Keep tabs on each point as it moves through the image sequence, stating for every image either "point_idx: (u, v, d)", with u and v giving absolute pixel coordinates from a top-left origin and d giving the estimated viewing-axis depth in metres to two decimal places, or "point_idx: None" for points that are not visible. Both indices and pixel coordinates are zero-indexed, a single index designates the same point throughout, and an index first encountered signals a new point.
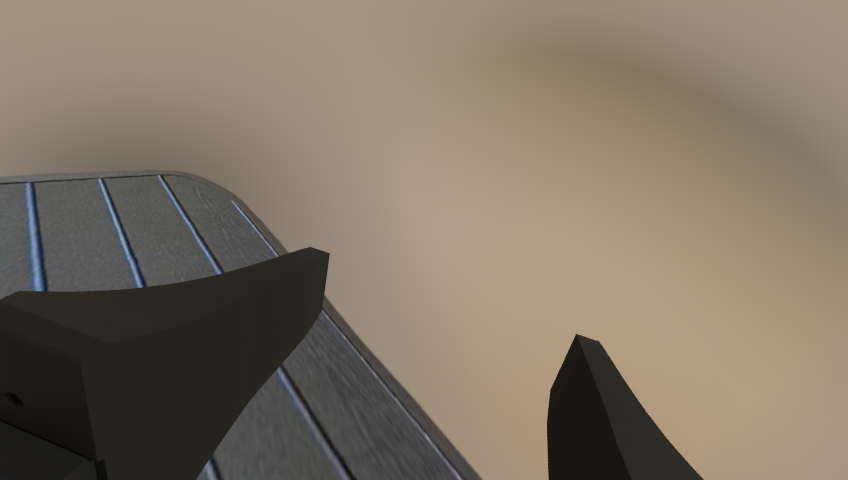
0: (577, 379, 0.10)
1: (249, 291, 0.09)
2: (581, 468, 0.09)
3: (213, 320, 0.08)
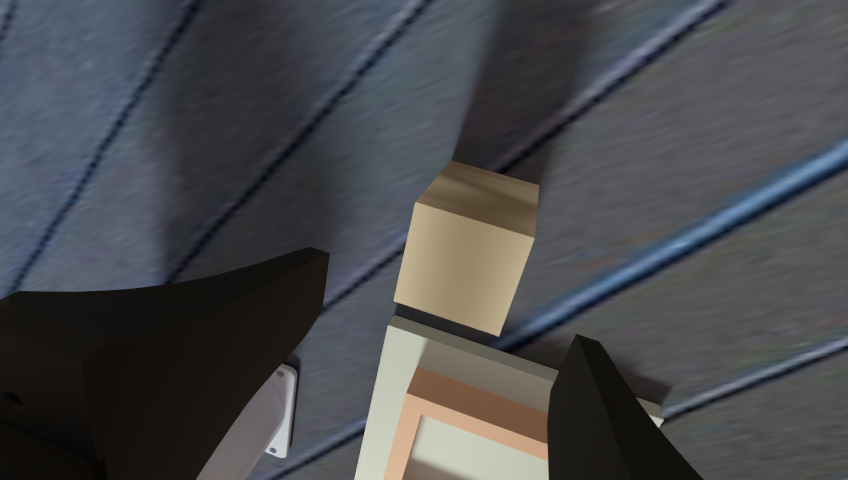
0: (577, 379, 0.10)
1: (249, 291, 0.09)
2: (581, 468, 0.09)
3: (213, 320, 0.08)
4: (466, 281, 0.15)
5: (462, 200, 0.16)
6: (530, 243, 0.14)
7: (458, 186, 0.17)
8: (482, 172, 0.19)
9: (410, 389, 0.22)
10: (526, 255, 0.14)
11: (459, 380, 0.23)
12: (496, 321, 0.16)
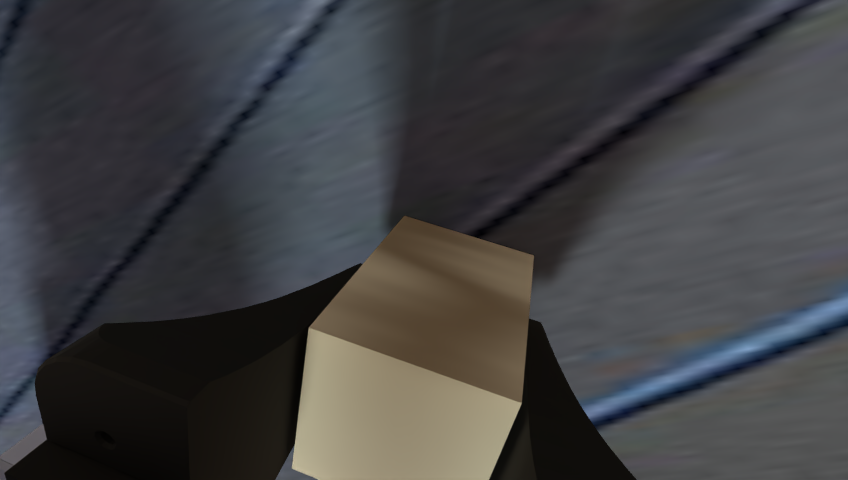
0: None
1: (316, 314, 0.09)
2: None
3: (288, 347, 0.08)
4: (405, 455, 0.09)
5: (400, 311, 0.09)
6: (514, 411, 0.08)
7: (401, 274, 0.11)
8: (448, 237, 0.13)
9: None
10: (507, 429, 0.08)
11: None
12: None
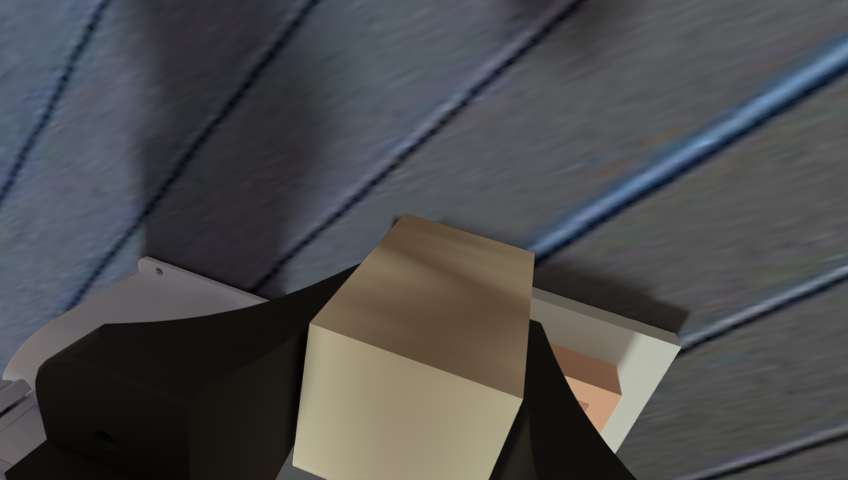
0: None
1: (316, 314, 0.09)
2: (505, 440, 0.09)
3: (288, 347, 0.08)
4: (406, 452, 0.09)
5: (401, 307, 0.09)
6: (515, 407, 0.08)
7: (402, 270, 0.11)
8: (449, 234, 0.13)
9: None
10: (508, 425, 0.08)
11: None
12: None
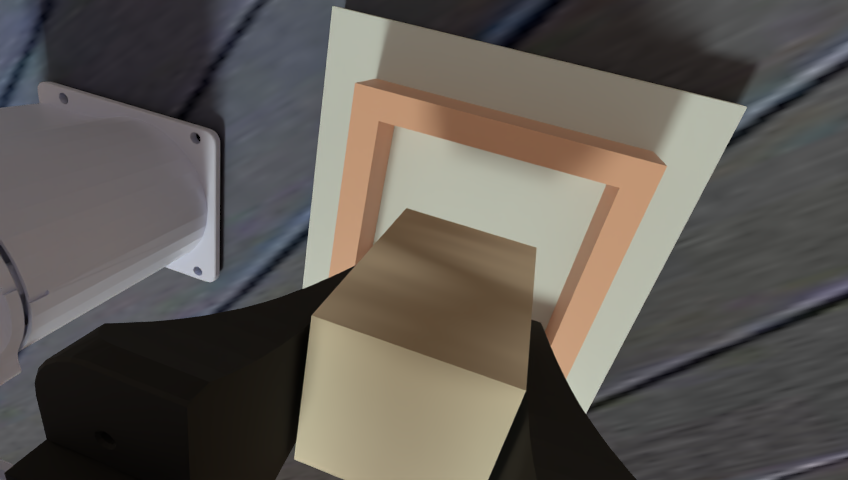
0: None
1: None
2: (505, 440, 0.09)
3: (288, 347, 0.08)
4: (408, 444, 0.09)
5: (403, 300, 0.09)
6: (518, 398, 0.08)
7: (403, 264, 0.10)
8: (450, 229, 0.13)
9: (362, 83, 0.15)
10: (511, 417, 0.08)
11: (437, 92, 0.16)
12: None
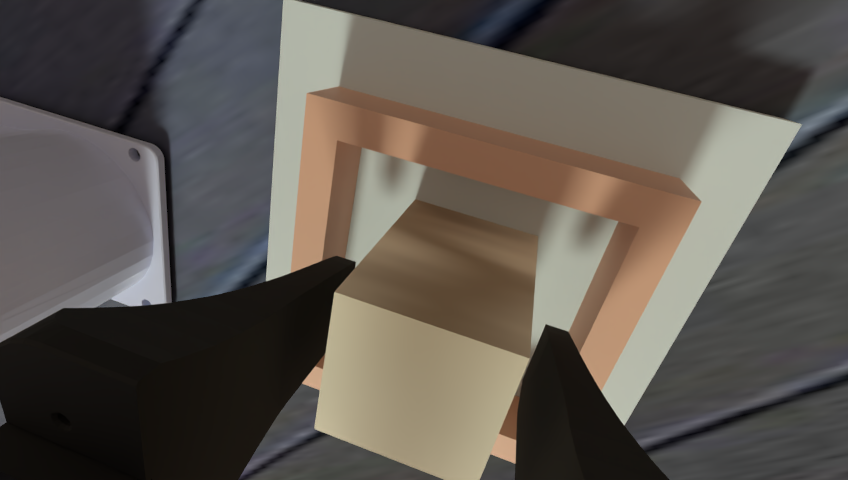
0: (543, 367, 0.11)
1: (284, 303, 0.09)
2: (541, 453, 0.09)
3: (252, 334, 0.08)
4: (421, 412, 0.10)
5: (416, 280, 0.10)
6: (522, 366, 0.09)
7: (415, 249, 0.11)
8: (457, 218, 0.14)
9: (317, 93, 0.12)
10: (516, 383, 0.09)
11: (412, 103, 0.13)
12: (470, 471, 0.10)
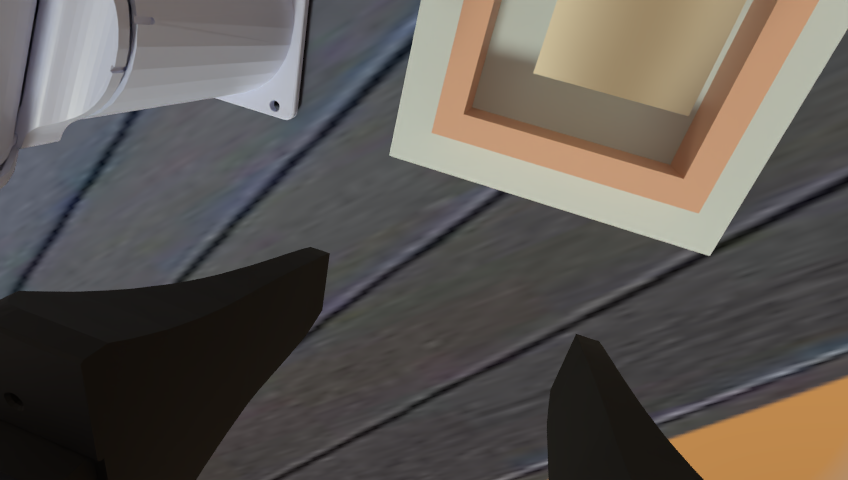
0: (577, 379, 0.10)
1: (249, 291, 0.09)
2: (581, 468, 0.09)
3: (213, 320, 0.08)
4: (653, 24, 0.11)
5: None
6: None
7: None
8: None
9: None
10: None
11: None
12: (690, 90, 0.11)
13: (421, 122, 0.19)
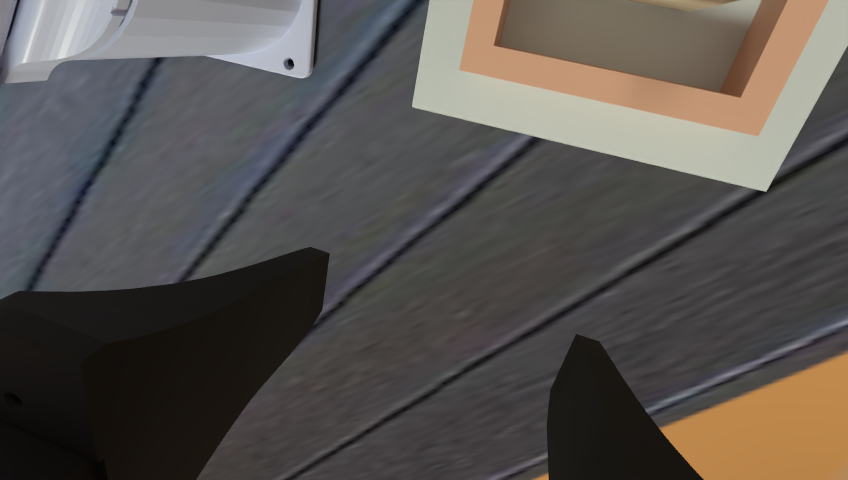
0: (577, 379, 0.10)
1: (249, 291, 0.09)
2: (581, 468, 0.09)
3: (213, 320, 0.08)
4: None
5: None
6: None
7: None
8: None
9: None
10: None
11: None
12: None
13: (445, 67, 0.18)
